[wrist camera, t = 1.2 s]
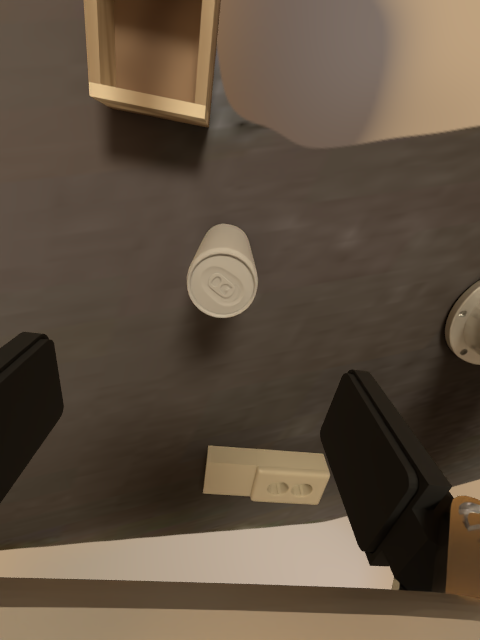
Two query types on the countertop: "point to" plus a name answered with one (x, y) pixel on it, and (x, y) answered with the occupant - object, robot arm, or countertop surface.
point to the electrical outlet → (266, 474)
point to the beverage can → (223, 273)
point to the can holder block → (153, 56)
